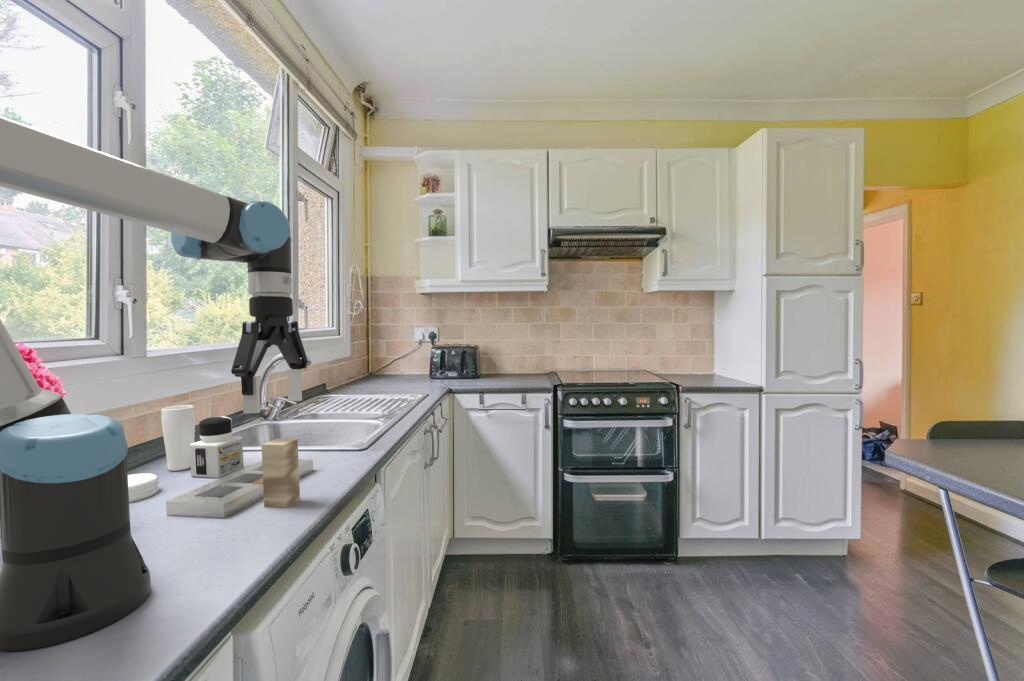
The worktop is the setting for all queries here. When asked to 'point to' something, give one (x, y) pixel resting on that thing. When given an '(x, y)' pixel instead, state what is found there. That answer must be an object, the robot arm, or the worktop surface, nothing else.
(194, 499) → the slotted peg board
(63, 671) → the worktop surface
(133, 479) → the coaster
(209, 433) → the container
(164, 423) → the drinking glass
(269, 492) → the beech peg
